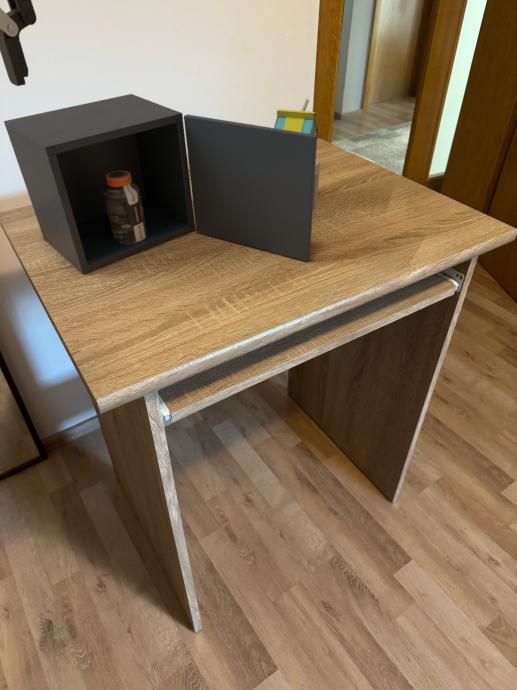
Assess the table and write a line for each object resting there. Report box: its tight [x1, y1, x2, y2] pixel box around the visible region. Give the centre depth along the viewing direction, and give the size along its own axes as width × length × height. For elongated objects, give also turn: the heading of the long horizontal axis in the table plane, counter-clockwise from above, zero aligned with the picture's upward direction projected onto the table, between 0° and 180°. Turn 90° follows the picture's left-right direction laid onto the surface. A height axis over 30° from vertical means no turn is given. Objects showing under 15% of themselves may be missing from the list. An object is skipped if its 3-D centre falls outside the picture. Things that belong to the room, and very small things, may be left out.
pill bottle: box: [104, 170, 147, 244], centre depth 82 cm, size 6×6×11 cm
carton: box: [273, 98, 319, 150], centre depth 94 cm, size 7×8×18 cm
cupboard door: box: [183, 114, 321, 262], centre depth 80 cm, size 6×22×20 cm, turn 61°
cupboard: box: [3, 93, 196, 275], centre depth 83 cm, size 16×22×20 cm
